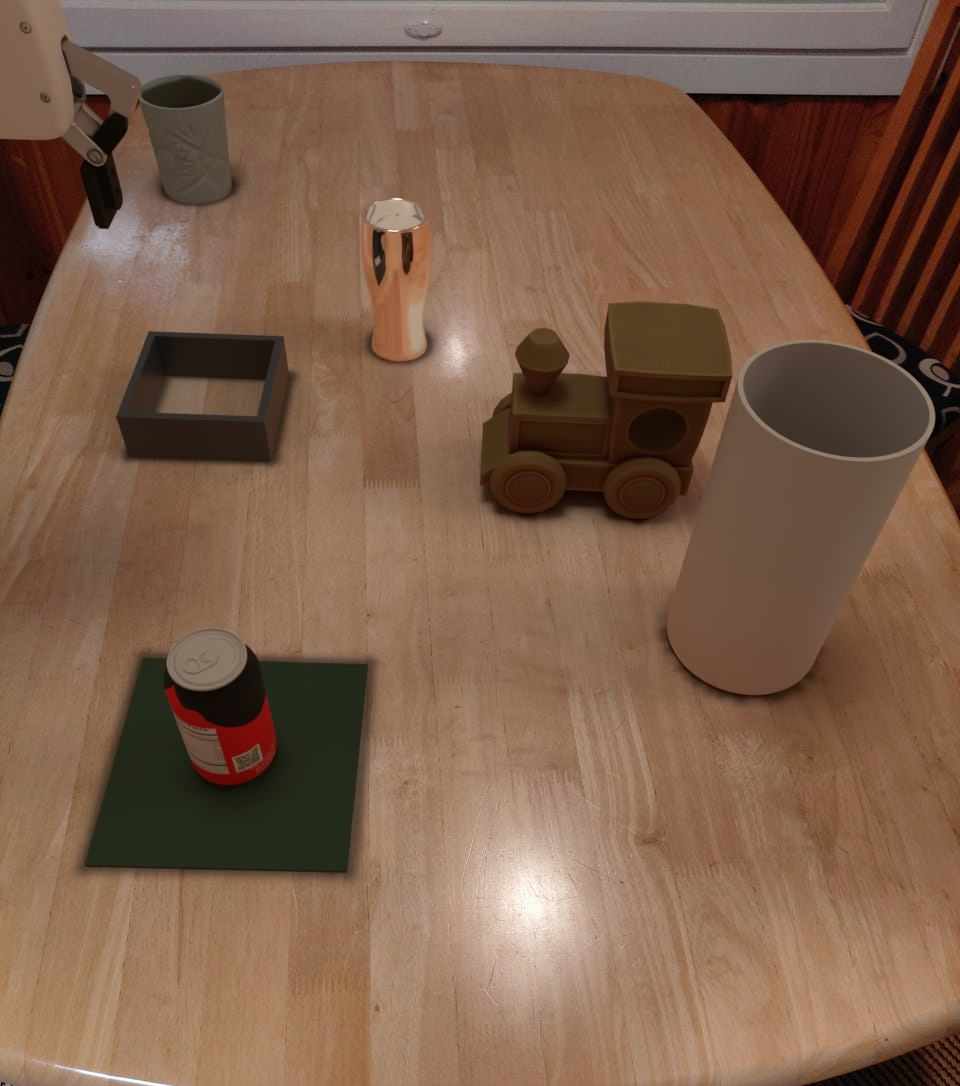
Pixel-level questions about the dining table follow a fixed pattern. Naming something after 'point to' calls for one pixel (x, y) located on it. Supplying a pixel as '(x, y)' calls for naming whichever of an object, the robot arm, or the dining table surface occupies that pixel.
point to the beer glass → (397, 274)
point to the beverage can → (220, 705)
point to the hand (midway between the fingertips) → (32, 215)
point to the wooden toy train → (610, 412)
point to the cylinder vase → (793, 509)
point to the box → (202, 431)
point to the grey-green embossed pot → (188, 136)
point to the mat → (243, 809)
